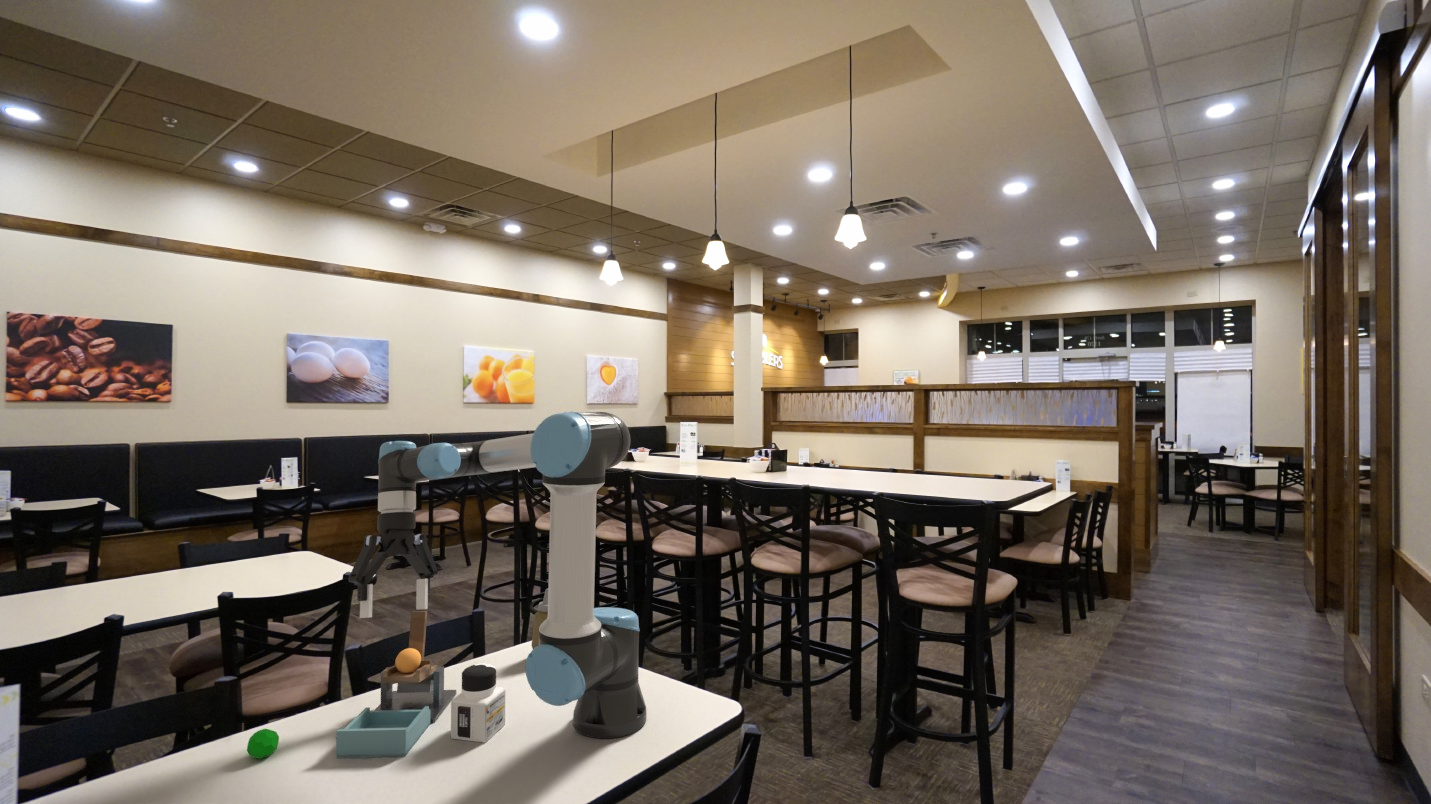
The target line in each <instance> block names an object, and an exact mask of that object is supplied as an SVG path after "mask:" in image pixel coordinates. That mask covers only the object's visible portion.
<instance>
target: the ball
mask: <svg viewBox="0 0 1431 804" xmlns="http://www.w3.org/2000/svg"><path fill="white" fill-rule="evenodd" d="M420 663H421V655H420V653H419V652H418V651H417V650H416V649H413V648H409V647H407V648H405V649H403V650H401V651H400V652H398V655H397V656H396V658H395V661H394V665H395V664H396V668H397V669H398V670H399V671H400V672H402V673H411V672H413V671H415V670H416V669H417V668H418V667H419V665H420Z"/></svg>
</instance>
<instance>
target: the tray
mask: <svg viewBox="0 0 1431 804" xmlns="http://www.w3.org/2000/svg"><path fill="white" fill-rule="evenodd" d="M430 725H431V723H430V709H429V706H425V707H424V708H423V709H422V710H375V709H374V710H371V707H370V706H369V707H365V708H364V709H362V711H360V712H359V713H358V714H357V716H356V717H354V718H353V720H351V721H350V723H348V725H346V727H344V728H337V730H336V735H335V758H336V759H353V758H354V759H355V758H356V759H358V758H391V757H392V758H395V757H396V758H397V757H399V758H400V757H402V758H403V757H406V756H407V755H408V754H409V752H410V751H411V750H412V749H413V747H414V746H415V745H416V744H417V741H419V740H420V738H421V737H422V736H423V734H424V733H425V732H426V730H427V729H428V727H430Z"/></svg>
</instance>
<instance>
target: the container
mask: <svg viewBox="0 0 1431 804" xmlns="http://www.w3.org/2000/svg"><path fill="white" fill-rule="evenodd" d="M505 725H506V688H505V687H501V686H499V687H498V686H497V668H496V667H495V666H494V665H492V664H489V663H483V662H482V663H476V664H472V665H470V666H468V667H466V668H464V670H463V671H462V672H461V692H460V693H459V694H458V695H457V696H455V697H454V698H453V699H452V700H451V702H450V739H452V740H453V739H454V740H458V741H459V740H460V741H467V742H477V743H487V742H488V741H489V740H490V739H491V738H492V737H493V736H494V735H495V734H496V733H498V731H500V730H501V729H502V728H503V727H504V726H505Z"/></svg>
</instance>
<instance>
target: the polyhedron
mask: <svg viewBox="0 0 1431 804" xmlns="http://www.w3.org/2000/svg"><path fill="white" fill-rule="evenodd" d="M279 741H280V736H279V735H278V733H277V731H276V730H272V729H268V728H262V729H260V730H256V732H254V733H253V734H252V735H251V736H250V737H249V739H248V743H247V748H246V752H247V753H248V756H249V757H253V758H257V759H260V760H263V759H264V757H265V758H268V757H270V756H271V755H273V753H275V751H276V750H277V748H278V747H279ZM267 756H268V757H267Z"/></svg>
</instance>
